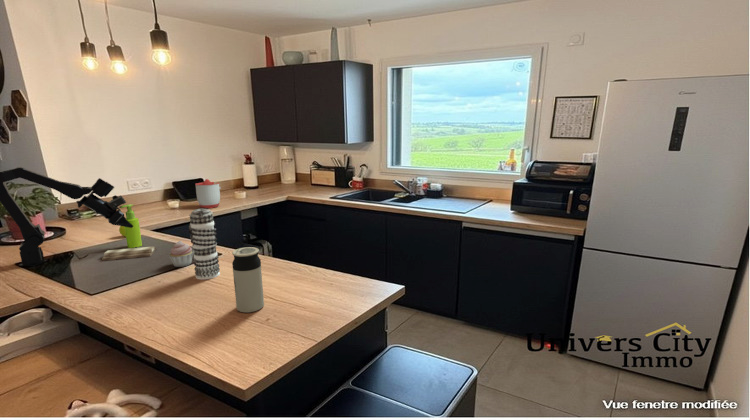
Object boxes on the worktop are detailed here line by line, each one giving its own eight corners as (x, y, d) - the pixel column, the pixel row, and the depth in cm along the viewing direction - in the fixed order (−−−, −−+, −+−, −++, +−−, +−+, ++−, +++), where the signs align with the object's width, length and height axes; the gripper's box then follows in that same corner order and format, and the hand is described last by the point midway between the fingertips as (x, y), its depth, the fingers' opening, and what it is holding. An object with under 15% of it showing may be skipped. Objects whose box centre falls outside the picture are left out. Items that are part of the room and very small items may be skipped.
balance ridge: (102, 260, 158) (101, 255, 157) (111, 253, 167) (110, 248, 167) (150, 256, 163) (149, 251, 162) (156, 249, 172) (155, 244, 172)
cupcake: (200, 261, 156) (198, 238, 154) (183, 269, 147) (180, 245, 145) (182, 259, 158) (179, 236, 156) (164, 267, 149) (161, 243, 147)
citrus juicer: (228, 205, 272) (225, 178, 267) (206, 210, 257) (203, 180, 253) (214, 203, 280) (212, 176, 276) (192, 207, 265) (189, 179, 261)
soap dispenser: (122, 247, 176) (115, 205, 171) (137, 243, 182) (131, 203, 177) (130, 249, 173) (123, 206, 169) (144, 245, 179) (138, 204, 175)
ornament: (139, 234, 198) (137, 216, 196) (129, 238, 191) (126, 219, 189) (127, 234, 198) (124, 215, 196) (116, 238, 192) (113, 219, 189)
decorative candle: (195, 272, 143) (187, 208, 138) (221, 269, 147) (215, 206, 141) (193, 281, 135) (185, 213, 130) (221, 277, 138) (214, 211, 133)
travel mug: (266, 301, 119) (262, 246, 115) (260, 313, 111) (255, 255, 107) (241, 301, 119) (236, 247, 115) (232, 313, 111) (227, 255, 107)
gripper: (113, 193, 161) (147, 214, 170) (109, 188, 175) (140, 208, 184) (94, 214, 158) (129, 234, 167) (91, 207, 172) (123, 226, 181)
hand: (131, 225), depth 175 cm, fingers open, 9 cm apart
